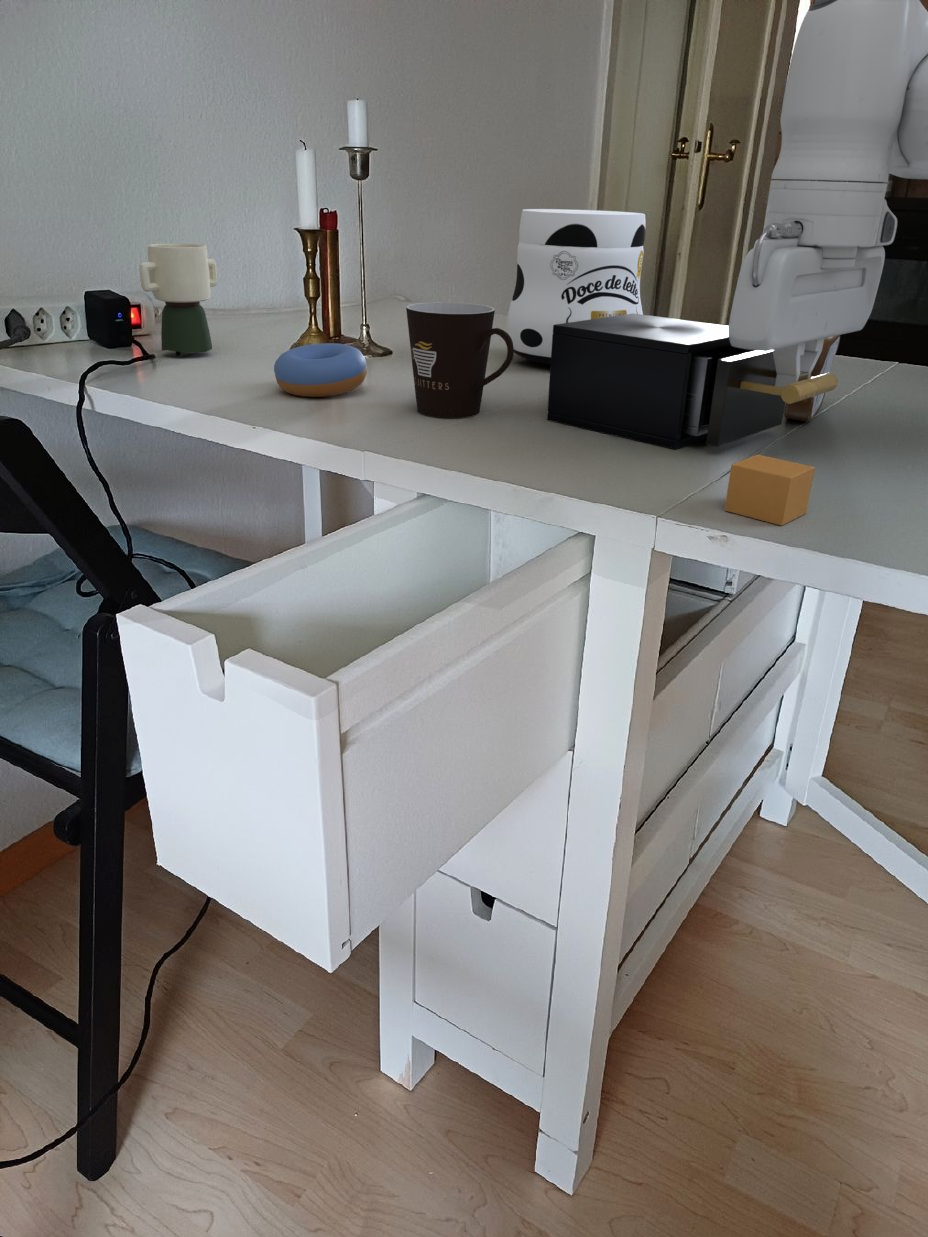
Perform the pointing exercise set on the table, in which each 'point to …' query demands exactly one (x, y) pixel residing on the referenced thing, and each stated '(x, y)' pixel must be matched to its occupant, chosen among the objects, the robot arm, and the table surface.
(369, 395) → the table surface
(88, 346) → the table surface
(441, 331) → the coffee mug
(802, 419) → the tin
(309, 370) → the doughnut
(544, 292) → the milk container
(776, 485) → the tan block
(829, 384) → the drawer with wooden handle
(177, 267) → the character mug
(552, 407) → the black drawer box
